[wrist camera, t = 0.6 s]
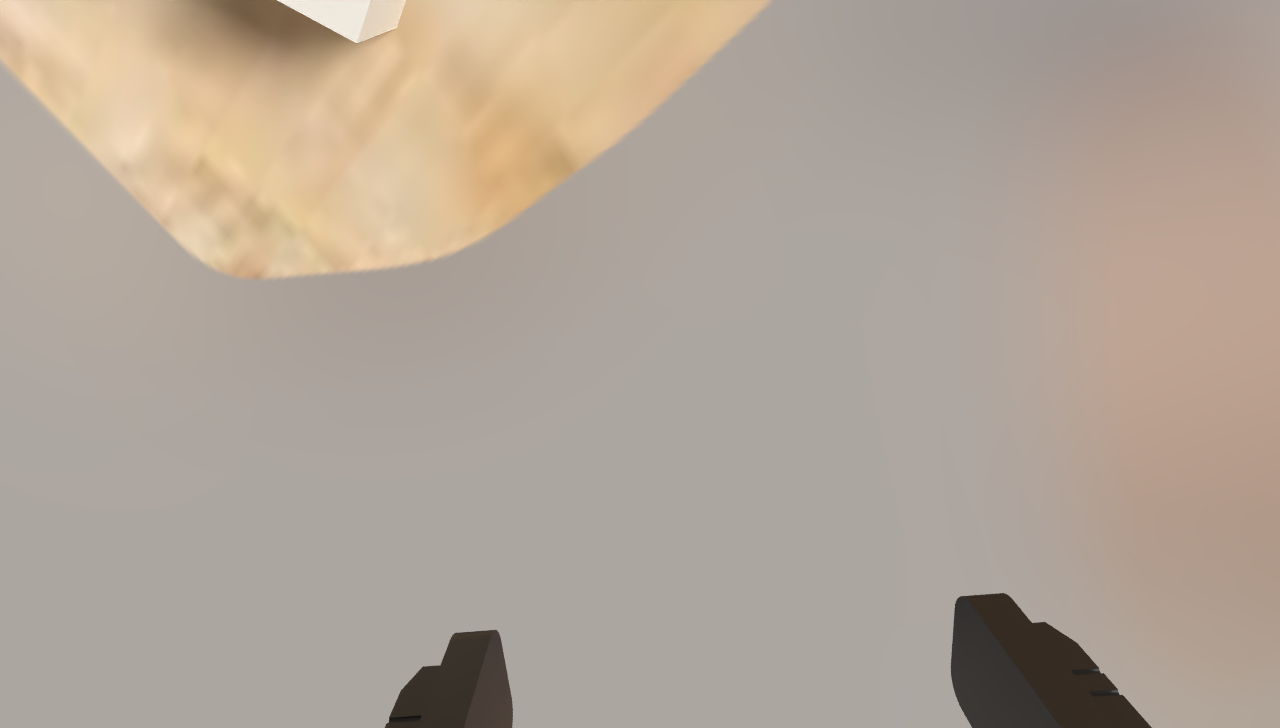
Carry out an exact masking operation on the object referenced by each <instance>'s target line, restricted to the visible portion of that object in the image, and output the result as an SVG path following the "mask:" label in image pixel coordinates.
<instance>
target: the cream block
mask: <svg viewBox="0 0 1280 728" xmlns="http://www.w3.org/2000/svg"><path fill="white" fill-rule="evenodd" d="M277 1H279V2H281V3H283V4H285V5H287V6H288V7H290V8H292V9H294V10H296V11H298V12H300V13H301V14H303V15H305V16H307V17H309V18H311V19H312V20H314V21H316V22H318V23H320V24H322V25H324V26H325V27H327V28H329V29H331V30H333V31H335V32H336V33H338V34H340V35H342V36H344V37H346V38H348V39H349V40H351V41H353V42H355V43H359V42H362V41H364V40H367V39H369V38H372V37H375V36H377V35H380V34H383V33H385V32H388V31H390V30H393V29H396V28H397V25H398V22H399V19H400V17H401V14H402V11H403V8H404V5H405V2H406V0H277Z"/></svg>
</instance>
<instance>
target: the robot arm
mask: <svg viewBox="0 0 1280 728" xmlns="http://www.w3.org/2000/svg"><path fill="white" fill-rule="evenodd" d="M951 676H952V682H953V687H954V691H955V694H956V697H957V700H958V702H959V705H960V707H961V709H962V710H963V712H964V714H965V716H966V717H967V719H968V721H969V723H970V724H971V726H972V728H1151V726H1150V725H1149V724H1148V723H1147V722H1146V721H1145V720H1144V718H1142V716H1141V715H1140V714H1139V713H1138V712H1137V711H1136V709H1135V708H1134V707H1133V706H1132V705H1131V704H1130V703H1129V702H1128V700H1127V699H1126V698H1125V697H1124V696H1123V695H1119V693H1118V689H1117V688H1116V687H1115V686H1114V684H1112V682H1111V681H1110V680H1109V679H1108V678H1107V677H1106V675H1105V674H1104V673H1103V674H1101V673H1100V671H1099V667H1098V666H1097V665H1096V664H1095V663H1094V662H1093V661H1092V660H1091V658H1090V657H1089V656H1088V655H1087V654H1086V653H1085V652H1084V651H1083V649H1082V648H1081V647H1080V646H1079V645H1078V644H1077V643H1076V642H1075V641H1073V640H1072V639H1070V638H1069V637H1067V636H1065V635H1064V634H1062V633H1061V632H1059V631H1058V630H1056V629H1055V628H1053V627H1052V626H1050V625H1048V624H1047V623H1046V622H1040V623H1032V622H1031V621H1030V620H1029V619H1028V618H1027V616H1026V615H1025V614H1024V613H1023V612H1022V611H1021V609H1020V608H1019V607H1018V606H1017V604H1016V603H1015V602H1014V601H1013V599H1012V598H1011V597H1010V596H1008V595H1007V594H1004V593H1000V594H986V595H973V596H961V597H959V598H958V599H957V601H956V604H955V614H954V628H953V644H952V658H951ZM512 720H513V708H512V698H511V692H510V687H509V681H508V676H507V670H506V665H505V659H504V654H503V649H502V643H501V638H500V635H499V633H498V631H497V630H489V631H476V632H463V633H455V634H454V635H453V636H452V637H451V640H450V642H449V645H448V647H447V650H446V653H445V655H444V658H443V660H442V663H441V665H440V666H427V667H422V669H420V670H419V672H418V673H417V674H416V675H415V676H414V677H413V678H412V679H411V680H410V681H409V682H408V684H407V685H406V686H405V687H404V688H403V689H402V690H401V692H400V694H399V696H398V699H397V701H396V703H395V706H394V708H393V710H392V712H391V715H390V717H389V723H387V724H386V727H385V728H512V722H513V721H512Z"/></svg>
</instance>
